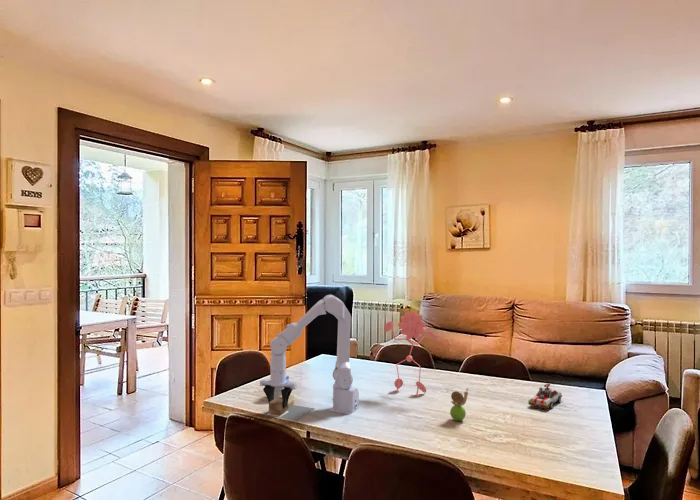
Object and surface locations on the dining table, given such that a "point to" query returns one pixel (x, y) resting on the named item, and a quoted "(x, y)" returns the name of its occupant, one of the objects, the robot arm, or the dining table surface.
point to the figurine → (410, 328)
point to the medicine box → (279, 390)
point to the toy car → (546, 397)
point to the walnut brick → (276, 407)
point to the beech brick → (289, 401)
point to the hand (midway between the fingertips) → (278, 406)
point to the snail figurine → (458, 405)
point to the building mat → (292, 413)
